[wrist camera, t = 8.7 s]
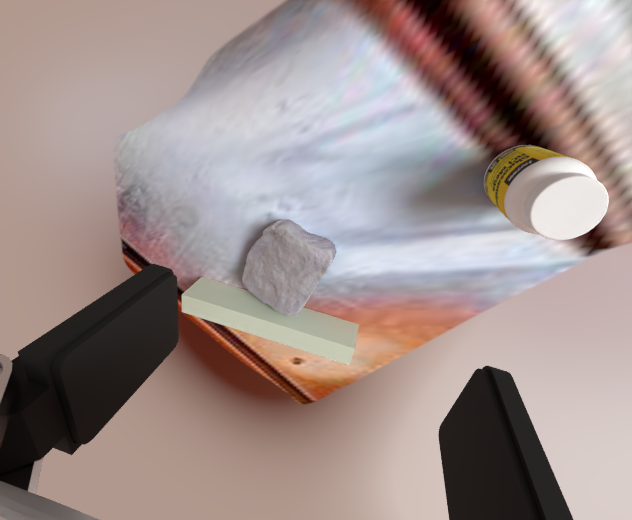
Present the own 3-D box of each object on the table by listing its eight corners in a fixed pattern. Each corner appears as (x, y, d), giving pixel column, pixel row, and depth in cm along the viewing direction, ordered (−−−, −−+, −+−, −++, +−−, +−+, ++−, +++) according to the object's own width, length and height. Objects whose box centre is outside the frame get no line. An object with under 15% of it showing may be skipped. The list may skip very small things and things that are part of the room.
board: (201, 276, 46) (181, 294, 42) (358, 324, 44) (354, 348, 39) (201, 292, 48) (182, 311, 43) (353, 340, 45) (349, 365, 41)
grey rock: (250, 272, 46) (305, 311, 45) (231, 283, 42) (289, 328, 41) (282, 204, 41) (345, 246, 39) (263, 210, 37) (333, 257, 35)
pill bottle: (500, 136, 30) (549, 152, 21) (565, 153, 30) (648, 178, 20) (470, 197, 33) (501, 235, 24) (529, 213, 33) (586, 260, 23)
